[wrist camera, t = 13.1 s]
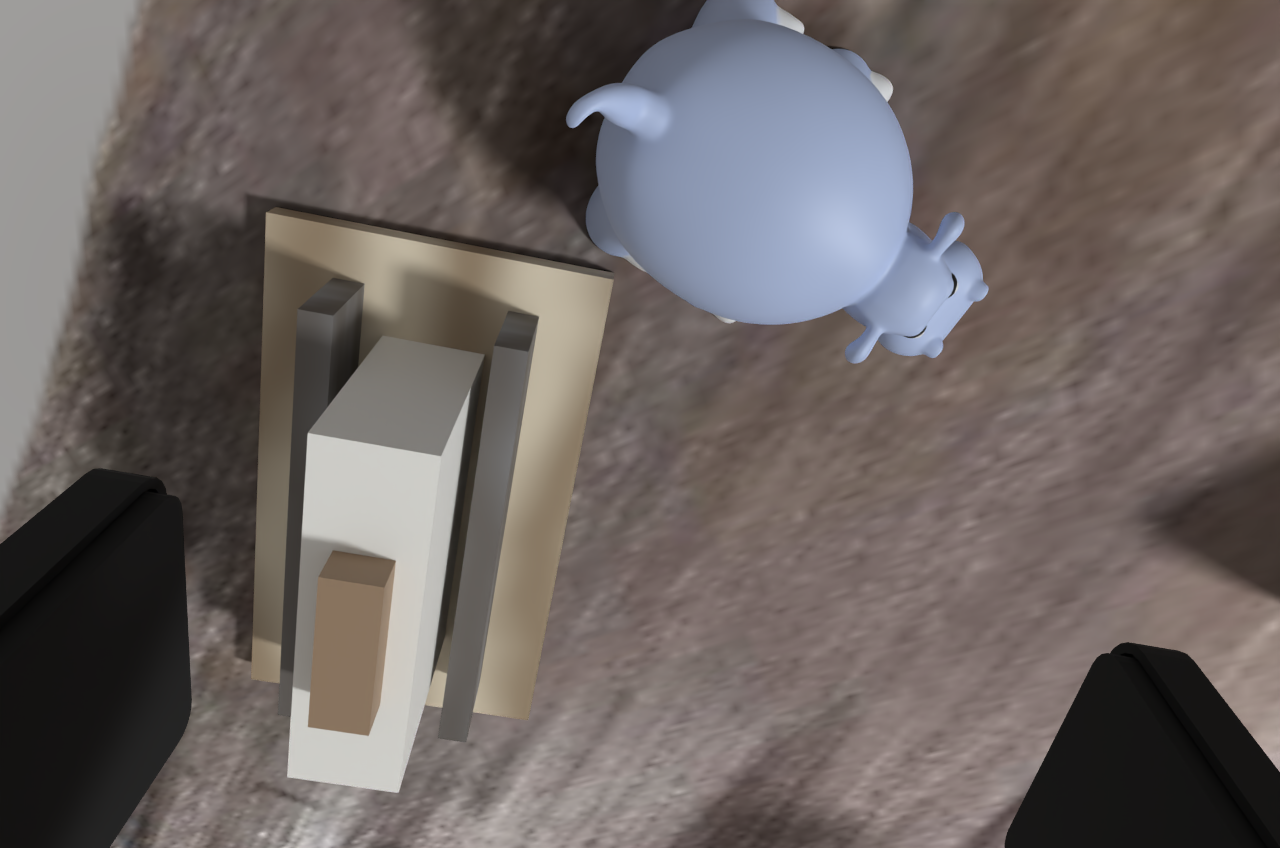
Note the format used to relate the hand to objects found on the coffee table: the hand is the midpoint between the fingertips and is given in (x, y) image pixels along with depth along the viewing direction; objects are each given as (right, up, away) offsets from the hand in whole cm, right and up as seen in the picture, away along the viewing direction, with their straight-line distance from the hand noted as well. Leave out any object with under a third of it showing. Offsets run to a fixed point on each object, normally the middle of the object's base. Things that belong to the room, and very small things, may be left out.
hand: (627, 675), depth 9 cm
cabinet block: (-9, -1, +29) cm, 31 cm away
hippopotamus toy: (+5, +12, +25) cm, 28 cm away
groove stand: (-9, 0, +30) cm, 31 cm away
